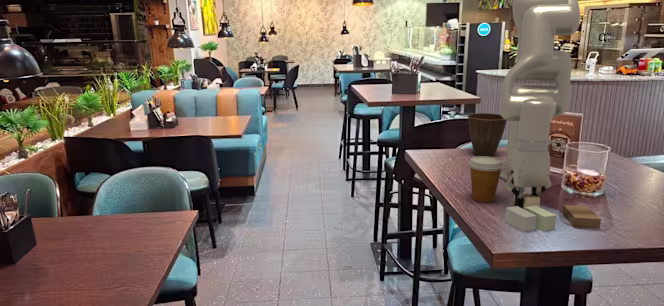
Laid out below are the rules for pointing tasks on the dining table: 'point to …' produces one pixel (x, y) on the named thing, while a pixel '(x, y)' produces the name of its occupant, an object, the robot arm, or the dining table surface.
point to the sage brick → (543, 218)
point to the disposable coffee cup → (484, 177)
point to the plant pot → (485, 132)
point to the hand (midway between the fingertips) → (525, 209)
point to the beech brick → (530, 200)
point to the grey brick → (520, 218)
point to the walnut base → (581, 217)
